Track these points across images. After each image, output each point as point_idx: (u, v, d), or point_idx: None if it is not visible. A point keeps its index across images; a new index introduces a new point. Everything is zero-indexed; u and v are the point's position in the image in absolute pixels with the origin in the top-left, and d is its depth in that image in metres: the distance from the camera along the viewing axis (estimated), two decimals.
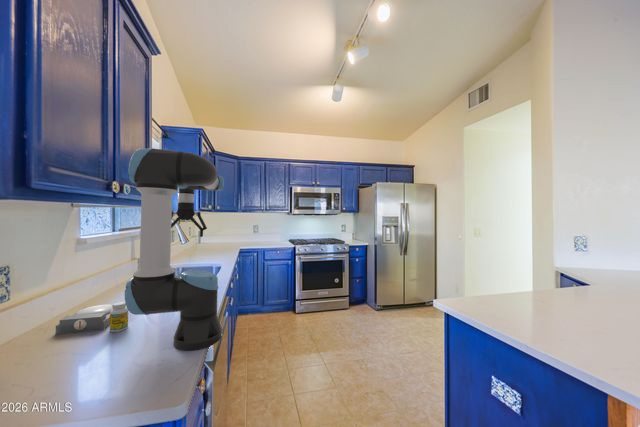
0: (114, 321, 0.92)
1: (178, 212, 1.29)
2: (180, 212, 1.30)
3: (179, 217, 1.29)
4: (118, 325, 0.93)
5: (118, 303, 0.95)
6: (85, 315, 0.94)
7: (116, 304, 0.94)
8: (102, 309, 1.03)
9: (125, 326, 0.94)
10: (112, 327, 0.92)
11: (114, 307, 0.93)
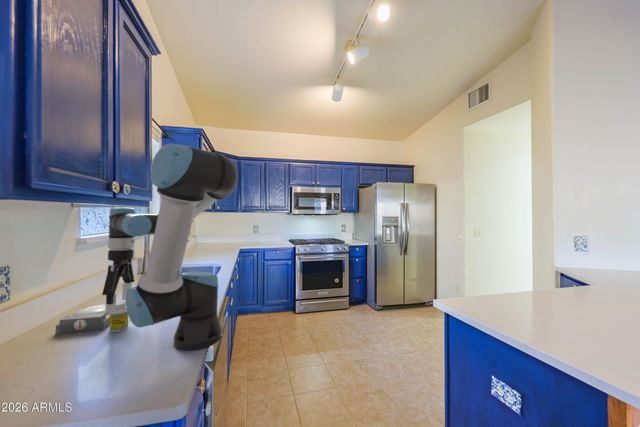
0: (114, 321, 0.92)
1: None
2: None
3: None
4: (118, 325, 0.93)
5: (118, 303, 0.95)
6: (85, 315, 0.94)
7: (116, 304, 0.94)
8: (102, 309, 1.03)
9: (125, 326, 0.94)
10: (112, 327, 0.92)
11: None
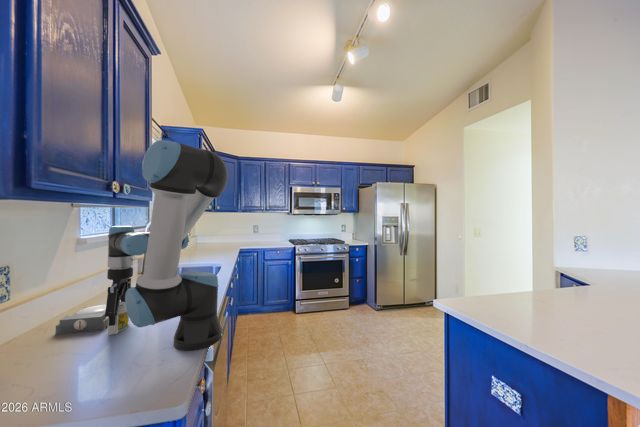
0: None
1: None
2: None
3: None
4: (118, 325, 0.93)
5: None
6: (85, 315, 0.94)
7: None
8: (102, 309, 1.03)
9: (125, 326, 0.94)
10: None
11: None
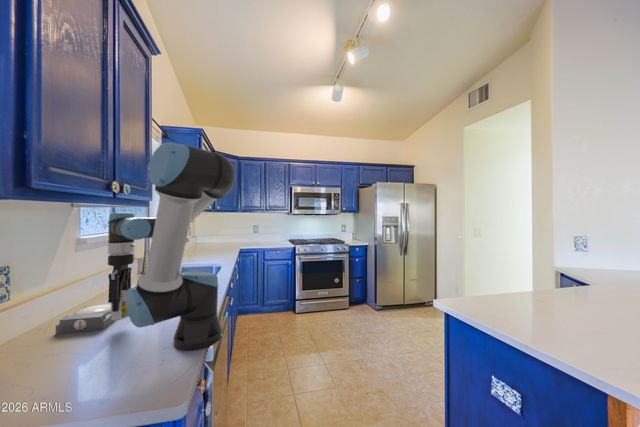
0: None
1: None
2: None
3: None
4: None
5: None
6: (85, 315, 0.94)
7: None
8: (102, 309, 1.03)
9: (126, 314, 0.94)
10: None
11: None
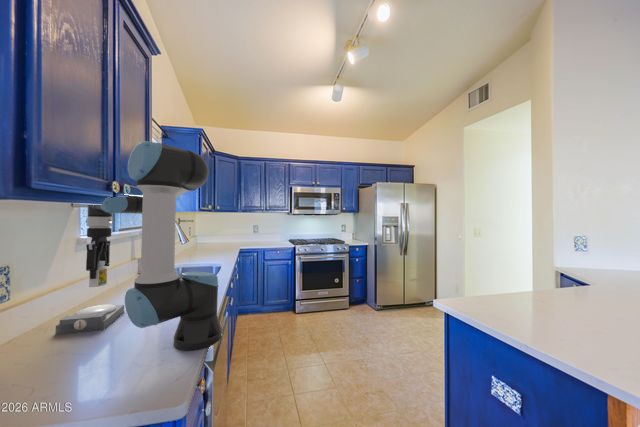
0: None
1: None
2: None
3: None
4: None
5: None
6: (85, 315, 0.94)
7: None
8: (102, 309, 1.03)
9: (104, 282, 1.03)
10: None
11: None
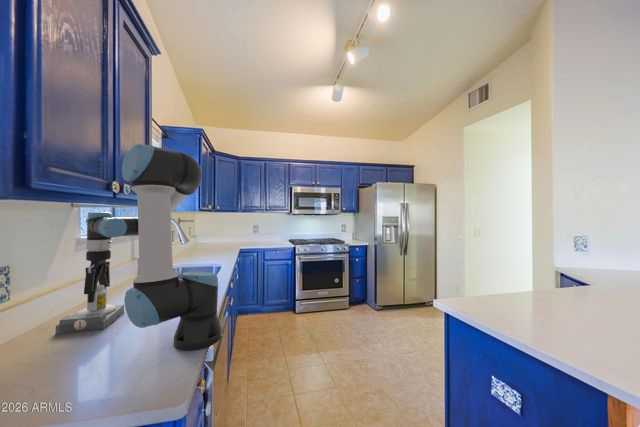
0: None
1: None
2: None
3: None
4: None
5: None
6: (85, 315, 0.94)
7: None
8: None
9: (103, 307, 1.02)
10: None
11: None
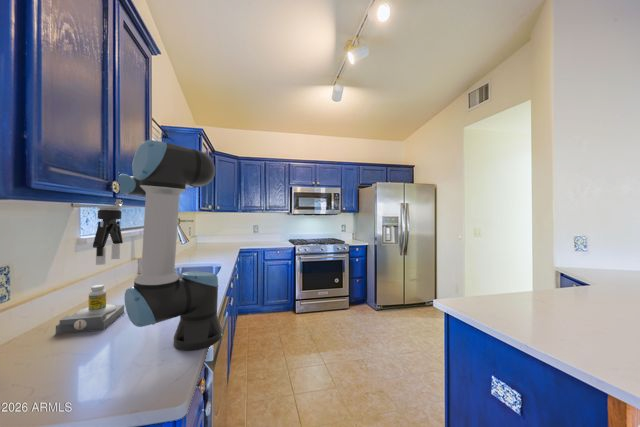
0: (92, 302, 1.00)
1: None
2: None
3: None
4: (96, 306, 1.01)
5: (96, 286, 1.03)
6: (85, 315, 0.94)
7: (94, 286, 1.02)
8: None
9: (103, 307, 1.02)
10: (90, 308, 1.00)
11: (92, 289, 1.01)
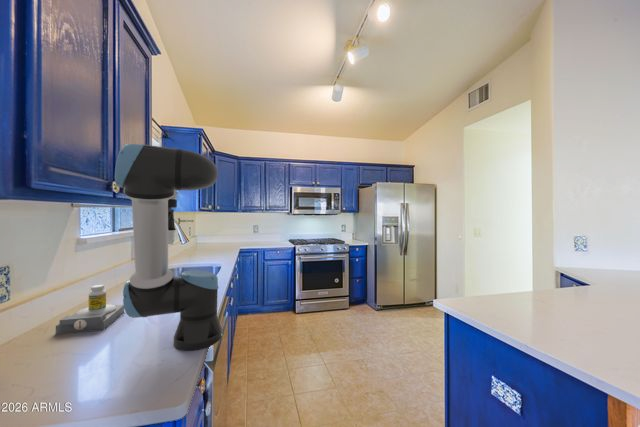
0: (92, 302, 1.00)
1: None
2: None
3: None
4: (96, 306, 1.01)
5: (96, 286, 1.03)
6: (85, 315, 0.94)
7: (94, 286, 1.02)
8: None
9: (103, 307, 1.02)
10: (90, 308, 1.00)
11: (92, 289, 1.01)
